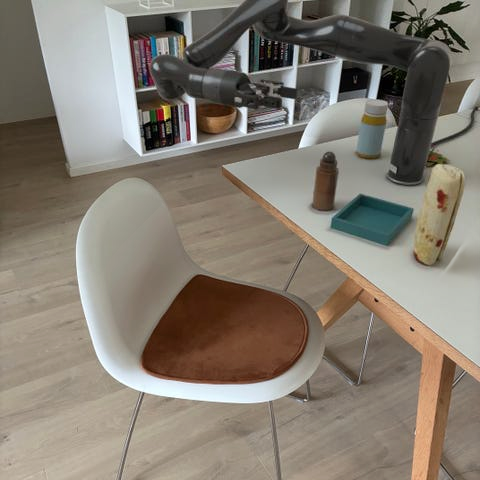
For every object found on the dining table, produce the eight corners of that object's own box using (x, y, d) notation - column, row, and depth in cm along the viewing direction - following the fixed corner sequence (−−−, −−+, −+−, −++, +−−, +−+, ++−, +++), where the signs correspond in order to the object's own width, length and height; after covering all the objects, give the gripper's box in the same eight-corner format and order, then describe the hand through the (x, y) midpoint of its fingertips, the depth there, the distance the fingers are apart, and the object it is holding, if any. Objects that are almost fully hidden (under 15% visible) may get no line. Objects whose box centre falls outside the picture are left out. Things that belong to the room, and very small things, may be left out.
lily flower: (458, 164, 151) (463, 148, 148) (427, 171, 147) (431, 155, 144) (428, 150, 159) (432, 135, 156) (398, 156, 155) (402, 141, 152)
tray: (357, 204, 130) (360, 193, 128) (411, 220, 124) (414, 208, 122) (329, 230, 119) (331, 217, 117) (386, 248, 114) (389, 235, 112)
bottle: (379, 160, 152) (390, 107, 143) (355, 158, 153) (364, 105, 144) (379, 151, 157) (389, 99, 148) (356, 149, 158) (364, 98, 149)
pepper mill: (317, 201, 131) (324, 145, 122) (338, 207, 128) (346, 150, 119) (307, 209, 127) (313, 152, 118) (327, 215, 125) (335, 158, 116)
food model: (404, 245, 114) (427, 157, 102) (435, 247, 114) (461, 158, 102) (412, 270, 107) (437, 177, 94) (445, 272, 106) (474, 179, 94)
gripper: (210, 77, 115) (277, 88, 109) (240, 64, 125) (303, 73, 119) (210, 112, 120) (274, 125, 114) (239, 97, 130) (300, 107, 124)
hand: (289, 98), depth 117 cm, fingers open, 8 cm apart
